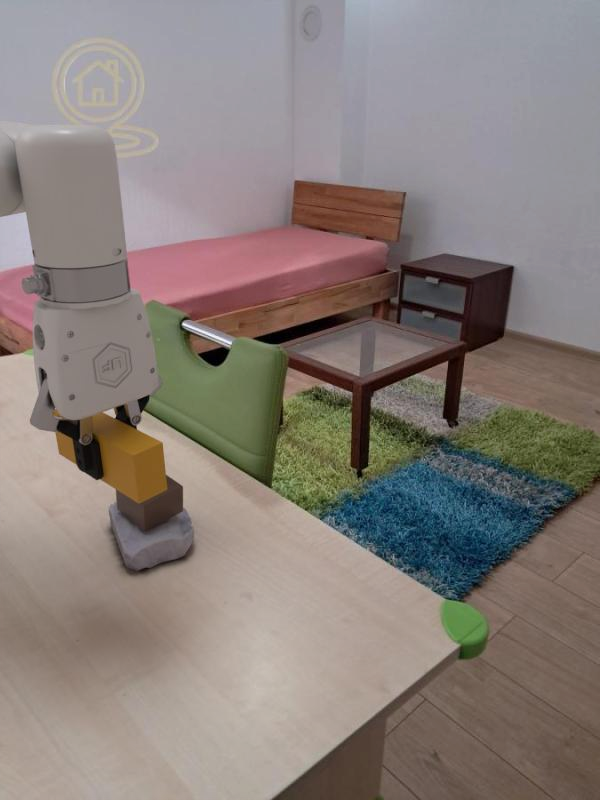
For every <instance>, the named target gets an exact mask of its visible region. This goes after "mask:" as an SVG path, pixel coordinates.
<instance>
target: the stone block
mask: <svg viewBox="0 0 600 800" xmlns="http://www.w3.org/2000/svg"><path fill="white" fill-rule="evenodd" d="M108 516H109V523H110V526H111V529H112V532H113V534H114V537H115V541H116V543H117V545H118V548H119V551H120V553H121V556H122V559H123V563H124V565H125V567H126V568H127V569H131V570H133V572H139V571H141V570H143V569H146V568H147V569H151V568H154V567H155V566H157V565H160V564H162V563H165V562H166V563H167V562H169V561H170V562H171V561H175V560H177V559H180V558H182V557H184V556H186V554H187V552H188V551H189V549H190V547H192V543H193V540H194V531H195V530H194V527H193V526H192V520H191V519H192V518H191V516H190V515H189V512H188V511H187V509H186V508H184V507H183V512H181V513H179V514H177V515H175V516H173V517H171V518H170V519H168V520H166V521H164V522H162V523H160V524H158V525H156V526H155V527H153V528H151V529H149V530H147V531H144V530H142V529H141V528H140V527H139V526H137V525H136V524H135V523H134V522H132V521H131V520H130V519H129V518H127V517H126V516H125V515H124V514H122V513H121V512H120V511H119V510H117V501H115V502H114V503H113V504H110V506H109V507H108Z"/></svg>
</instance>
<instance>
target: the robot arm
mask: <svg viewBox="0 0 600 800" xmlns="http://www.w3.org/2000/svg"><path fill="white" fill-rule="evenodd" d="M22 213H25V216H26V222H27V227H28V228H27V229H28V233H29V240H30V246H31V252H32V258H33V263H34V264H33V265H32V270H33V274H31V275H30V276H28V277H24V278H22V279H21V287H22V290H23V292H24V293H25V294H26V295H33V294H35V295H36V296H38V297H39V299H37V300H35V301H34V303H33V313H32V314H33V315H32V351H33V362H34V372H35V380H36V386H37V391H38V395H37V397H36V399H35V400H36V401H35V403H34V407H33V410H32V412H31V415H30V417H29V424H30V425H31V426H32V427H34V428H35V429H37V430H39V431H45V432H51V433H55V432H59V433H62V434H64V435H66V436H68V437H70V438H72V440H73V446H74V453H75V459H76V464H77V465H76V464H75V465H76V467H77V468H78V470H79V471H81V472H83V473H85V474H86V475H88V476H89V477H90V478H92V479H94V480H95V481H99V480H100V479H101V478H103V476H104V474H103V467H102V460H101V453H100V446H99V443H98V441H96V440H94V439H93V425H92V416H93V415H96V414H99V413H102V412H103V413H105V412H107V411H110V410H113V411H114V415H115V417H114V418H115V419H117V420H119V421H121V422H123V423H125V424H127V425H129V426H131V427H133V428H135V429H137V430H138V425H140V423H141V422H142V420H143V419H142V413H143V411H144V410H145V408H146V407H147V405H148V403H149V401H150V398H152V397H153V396H154V395H155V394H156V393H157V392H158V390H160V389H161V388H162V386H163V383H164V381H163V379H162V377H161V376H160V375H159V370H158V363H157V362H158V361H157V355H156V348H155V344H154V343H155V342H154V337H153V333H152V328H151V325H150V324H151V323H150V320H149V316H148V313H147V310H146V307H145V303H144V301H143V298H142V296H141V293H140V291H139V290H138V289H136V288H132V287H131V278H130V269H129V268H130V267H129V260H128V252H127V241H126V232H125V222H124V213H123V203H122V194H121V184H120V176H119V166H118V156H117V150H116V144H115V141H114V138H113V137H112V134H110V132H109V131H107V129H105V128H103V127H101V126H98V125H93V124H73V123H71V124H70V123H68V124H66V123H65V124H63V123H61V124H60V123H59V124H54V123H53V124H52V123H51V124H31V123H25V122H19V121H13V120H0V218H3V217H8V216H13V215H17V214H22ZM55 409H56V410H57V412H58V413H59V414H60V415H61V416H64V417H65V419H64V418H62V417H60V416H54V415H53V414H54V410H55Z"/></svg>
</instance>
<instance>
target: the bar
mask: <svg viewBox="0 0 600 800" xmlns="http://www.w3.org/2000/svg"><path fill="white" fill-rule="evenodd" d="M53 415H54V416H60V417H62V418H64V419H65V417H64V416H61V415H60V414H59V413H58V412H57V410H56V408H55V410H54V414H53ZM115 418H116V417H113V416H111V415H109V414H107V413H105V412H102V413H99V414H96V415H93V416H92V425H93V439H94V440H96V441H98V443H99V446H100V453H101V460H102V467H103V474H104V476H103V478H101V479H99V480H100V481H101V482H103V483H105V484H106V485H108V486H110V487H111V488H113V489H114V490H115V491H116V490H118V491H119V492H121V493H123V494H124V495H126V496H127V497H129V498H131V499H132V500H134V501H135V502H137V503H139V504H140V503H142V502H144V501H146V500H148V499H150V498H152V497H154V496H156V495H158V494H160V493H162V492H164V491H166V490H167V480H166V475H167V471H166V470H167V469H166V463H165V462H166V461H165V451H164V443H163V442H162V441H160V440H159V439H157V438H155V437H153V436H150V435H149V434H147V433H145V432H143V431H141V430H139V429H138V428H137V429H135V428H133V427H131V426H129V425H127V424H125V423H123V422H121V421H119V420H117V419H115ZM54 433H55V439H56V444H57V449H58V454H59V455H60V456H62V457H64V458H65V459H66V460H68V461H69V462H71V463H73V464H74V465H76V466H77V464H76V459H75V453H74V446H73V440H72V438H70V437H68V436H66V435H64V434H62V433H59V432H54Z"/></svg>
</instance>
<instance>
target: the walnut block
mask: <svg viewBox="0 0 600 800" xmlns="http://www.w3.org/2000/svg"><path fill="white" fill-rule="evenodd" d="M166 480H167V490H166V491H164V492H162V493H160V494H158V495H156V496H154V497H152V498H150V499H148V500H146V501H144V502H142V503H140V504H139V503H137V502H135V501H134V500H132V499H131V498H129V497H127V496H126V495H124V494H123V493H121V492H119V491H118V490H116V489H115V496H116V497H115V499H116V502H117V510H119V511H120V512H121V513H122V514H124V515H125V516H126V517H127V518H129V519H130V520H131V521H132V522H134V523H135V524H136V525H137V526H139V527H140V528H141V529H142V530H144V531H147V530H149V529H151V528H153V527H155V526H156V525H158V524H160V523H162V522H164V521H166V520H168V519H170V518H171V517H173V516H175V515H177V514H179V513H181V512H183V508H184V486H183V485H182V484H181V483H179V482H177V481H176V480H175V479H173V478H172V477H170V476H169V475H168V474H166Z"/></svg>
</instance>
